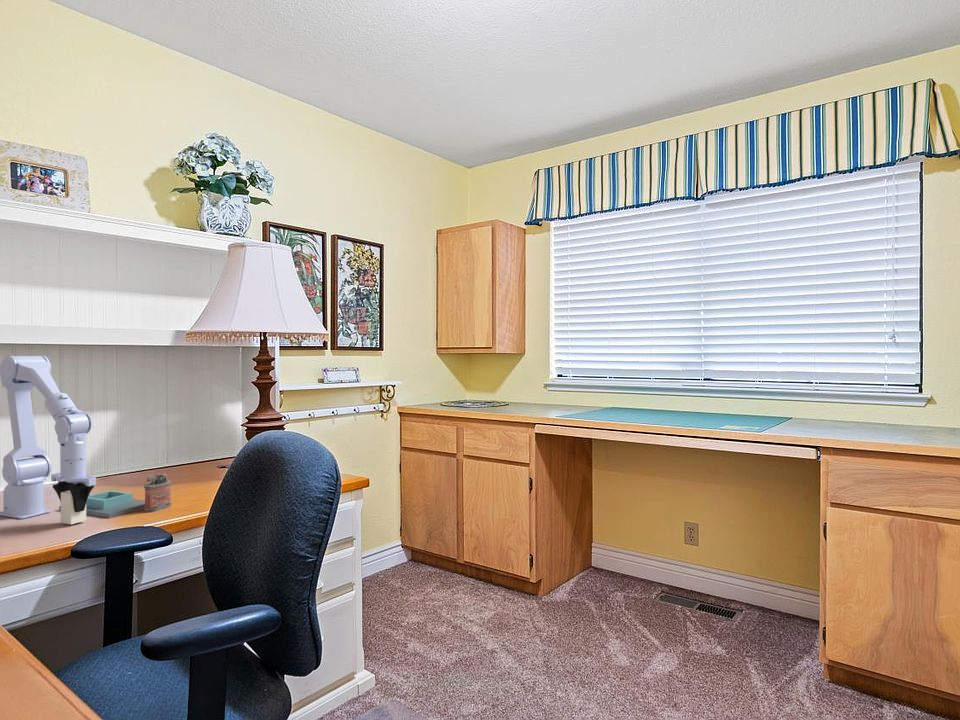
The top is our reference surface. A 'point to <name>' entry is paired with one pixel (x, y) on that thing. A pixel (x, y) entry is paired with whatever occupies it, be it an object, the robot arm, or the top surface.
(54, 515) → the top surface
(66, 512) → the cream block
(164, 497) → the lighter
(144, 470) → the top surface
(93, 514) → the organizer
